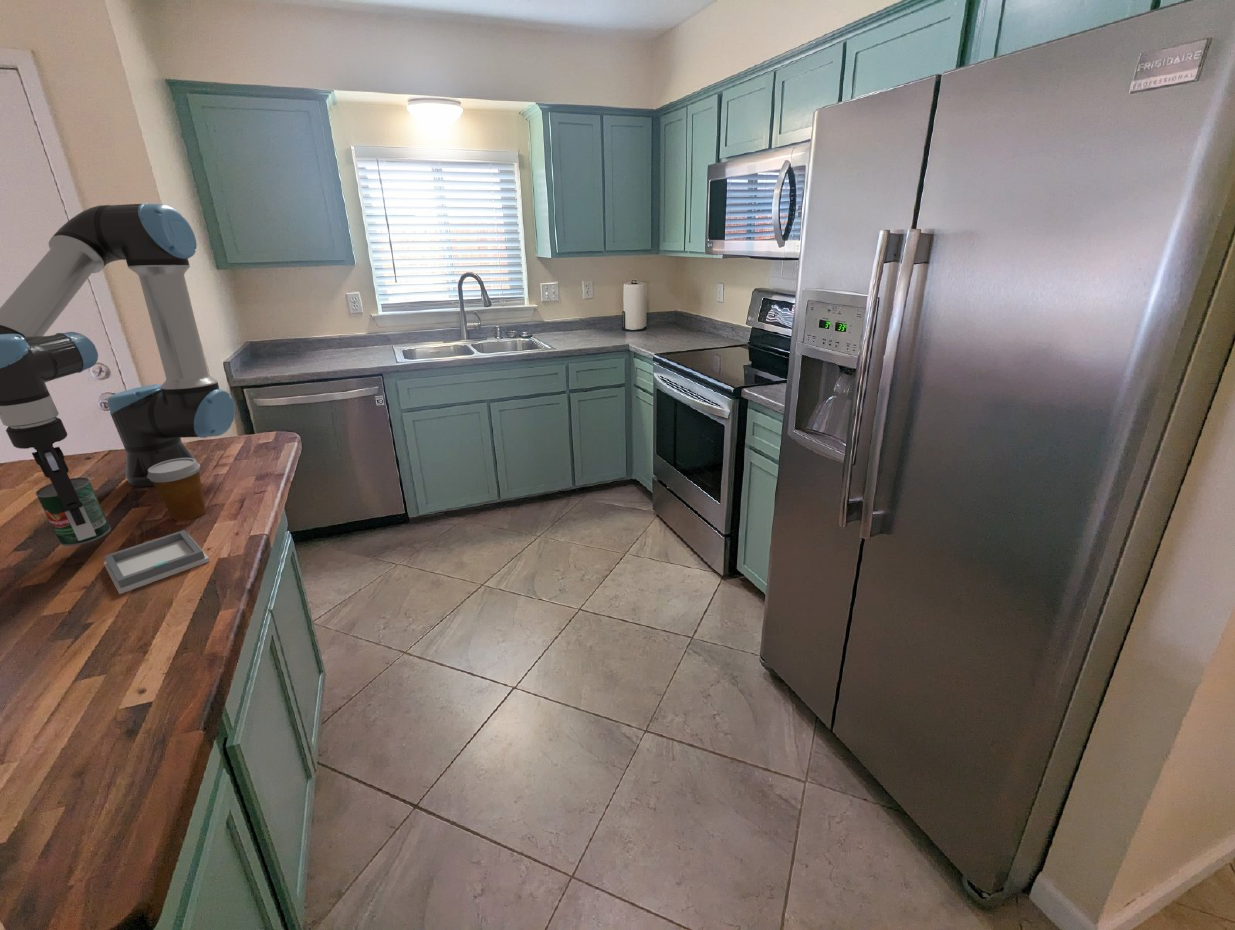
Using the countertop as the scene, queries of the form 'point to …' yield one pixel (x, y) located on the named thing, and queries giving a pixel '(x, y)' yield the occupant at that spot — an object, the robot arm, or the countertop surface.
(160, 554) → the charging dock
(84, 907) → the countertop surface
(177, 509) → the disposable coffee cup
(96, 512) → the canned tomato
